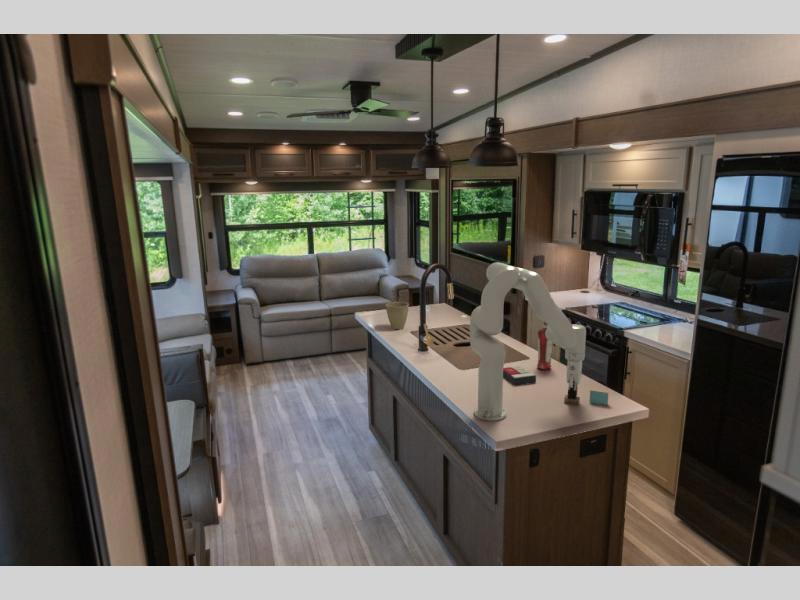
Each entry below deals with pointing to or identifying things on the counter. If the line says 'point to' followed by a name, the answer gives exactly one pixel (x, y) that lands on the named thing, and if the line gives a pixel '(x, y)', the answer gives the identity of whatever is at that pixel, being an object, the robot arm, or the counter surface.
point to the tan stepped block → (572, 401)
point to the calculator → (518, 375)
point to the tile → (599, 396)
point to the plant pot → (397, 314)
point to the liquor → (544, 349)
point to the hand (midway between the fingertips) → (572, 396)
